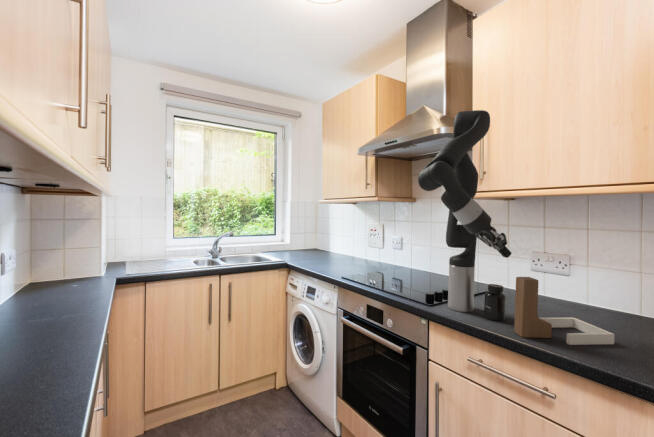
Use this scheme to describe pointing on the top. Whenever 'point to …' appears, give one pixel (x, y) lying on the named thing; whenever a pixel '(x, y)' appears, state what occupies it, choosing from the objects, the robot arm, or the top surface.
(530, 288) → the wooden block
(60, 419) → the top surface
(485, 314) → the supplement bottle
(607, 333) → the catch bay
